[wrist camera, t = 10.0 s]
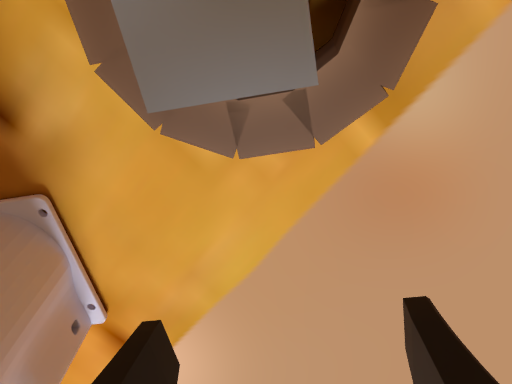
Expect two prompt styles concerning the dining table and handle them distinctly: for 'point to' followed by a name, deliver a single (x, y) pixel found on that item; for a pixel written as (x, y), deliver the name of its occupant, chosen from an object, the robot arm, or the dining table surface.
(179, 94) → the slate peg
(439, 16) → the dining table surface
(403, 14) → the walnut ring
